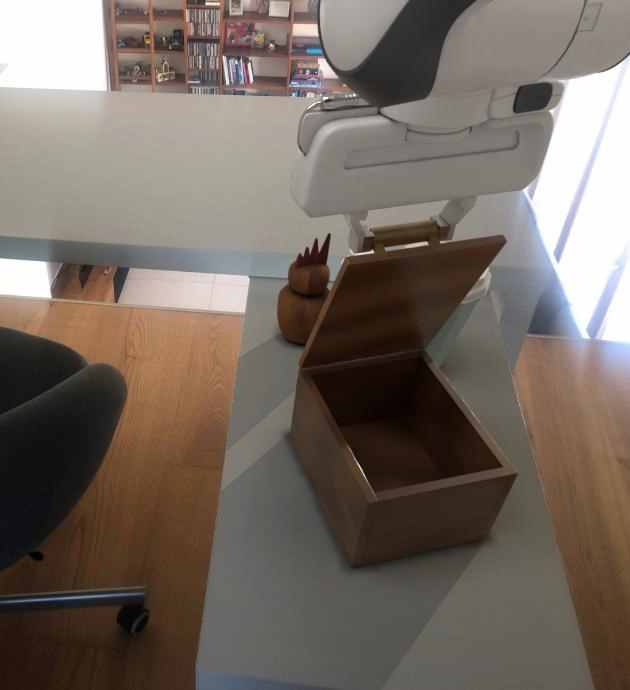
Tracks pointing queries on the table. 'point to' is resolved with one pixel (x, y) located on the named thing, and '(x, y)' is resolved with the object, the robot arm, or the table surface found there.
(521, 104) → the robot arm
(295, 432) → the chest
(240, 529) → the table surface
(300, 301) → the wooden figurine
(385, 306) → the lid
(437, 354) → the disposable coffee cup
